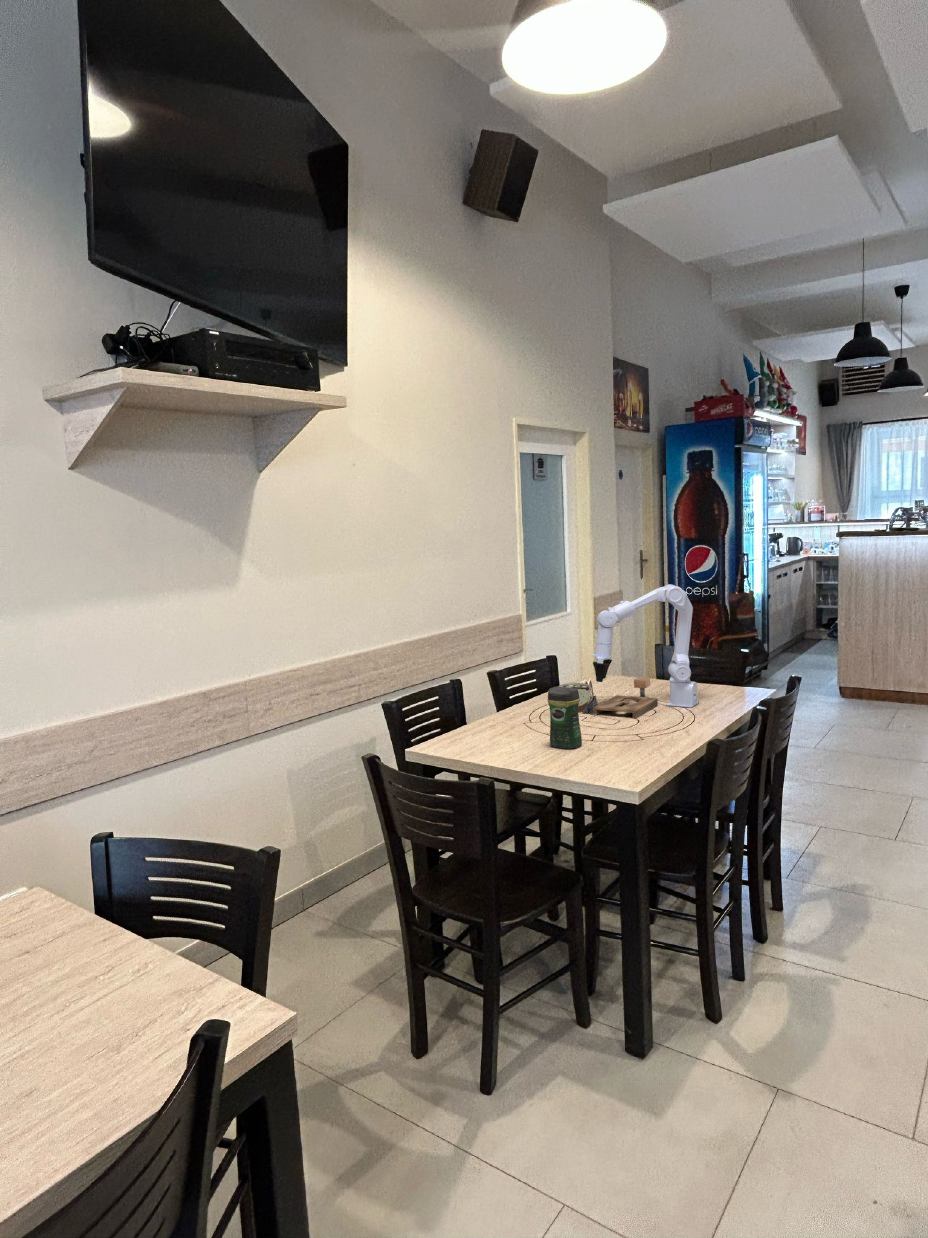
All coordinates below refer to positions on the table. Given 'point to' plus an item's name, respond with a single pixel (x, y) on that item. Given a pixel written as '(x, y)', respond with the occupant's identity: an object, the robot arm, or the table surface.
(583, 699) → the food container
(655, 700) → the keyhole plate
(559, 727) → the coffee jar
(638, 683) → the key peg
